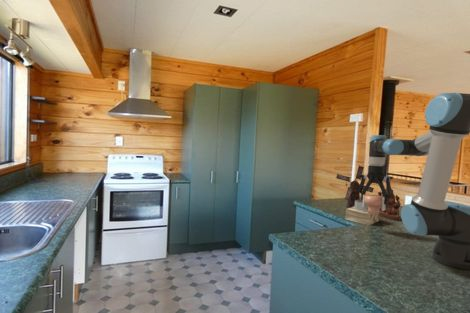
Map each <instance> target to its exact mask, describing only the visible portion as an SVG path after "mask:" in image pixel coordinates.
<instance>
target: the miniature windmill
mask: <svg viewBox="0 0 470 313" xmlns="http://www.w3.org/2000/svg"><path fill="white" fill-rule="evenodd" d="M364 168H365V166H361V165H358V167H357V172H356V176H355V180H352V181H351V177H350V176H348V175H347V176H346V175H342V174H339V173H337V174H336V177H335V179H337V180H341V181H345V182H349V183H350V184H349V186H348V188H347V191H346V193H345V194H346V195H345V197H344V200H346V201H347V203H346V209H348V208H351V207H354V206H355V200H361V193H358V189H359V186H360V182H359V181H357V180H360V181H361V175H363V172H364ZM365 186H366V185H364V186H363V189H364V187H365ZM374 189H375V188H374V187H371V186H370V187H369V188H368V190H367V191H366V192H368V193H372V194H373V192H374Z"/></svg>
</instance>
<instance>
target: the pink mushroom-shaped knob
mask: <svg viewBox="0 0 470 313" xmlns="http://www.w3.org/2000/svg"><path fill="white" fill-rule="evenodd" d="M383 198H384V197H383V196H379V195H378V194H366V195H365V201H364V203H365V204H368V213H369V214H374V215H378V214H379V210H380V207H381V206H382V199H383Z"/></svg>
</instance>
